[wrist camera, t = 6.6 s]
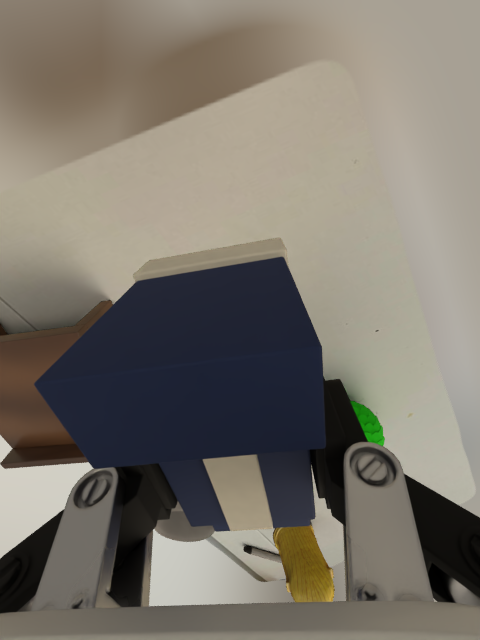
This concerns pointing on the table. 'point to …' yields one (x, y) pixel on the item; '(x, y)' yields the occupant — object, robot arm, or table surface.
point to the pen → (262, 554)
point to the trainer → (204, 386)
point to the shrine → (304, 564)
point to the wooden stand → (36, 394)
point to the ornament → (369, 424)
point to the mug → (182, 527)
